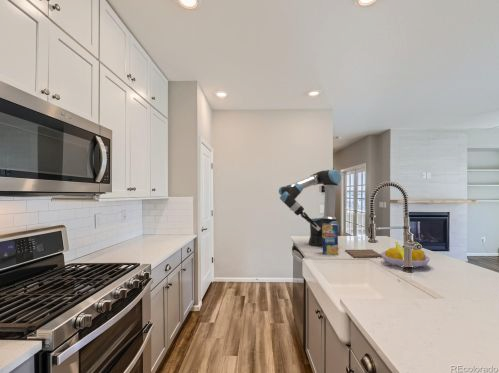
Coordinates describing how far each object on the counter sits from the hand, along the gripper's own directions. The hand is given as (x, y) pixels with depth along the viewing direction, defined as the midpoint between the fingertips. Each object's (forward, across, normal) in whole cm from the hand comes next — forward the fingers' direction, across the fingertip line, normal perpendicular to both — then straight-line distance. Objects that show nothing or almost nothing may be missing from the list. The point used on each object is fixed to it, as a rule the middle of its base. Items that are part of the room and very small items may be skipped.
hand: (317, 228), depth 196 cm
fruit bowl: (+48, +28, +20) cm, 59 cm away
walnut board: (+36, +2, +9) cm, 37 cm away
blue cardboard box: (+20, 0, -7) cm, 21 cm away
